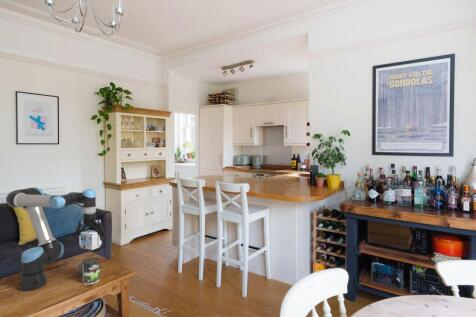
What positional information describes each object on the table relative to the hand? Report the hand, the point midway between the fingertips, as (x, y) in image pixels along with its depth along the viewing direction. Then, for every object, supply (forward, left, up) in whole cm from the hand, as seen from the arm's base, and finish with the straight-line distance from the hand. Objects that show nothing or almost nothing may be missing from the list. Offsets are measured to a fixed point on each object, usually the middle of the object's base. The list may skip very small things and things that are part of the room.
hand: (90, 244), depth 190 cm
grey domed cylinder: (-11, +9, -25) cm, 29 cm away
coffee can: (0, 0, -25) cm, 25 cm away
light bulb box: (0, 0, -2) cm, 2 cm away
